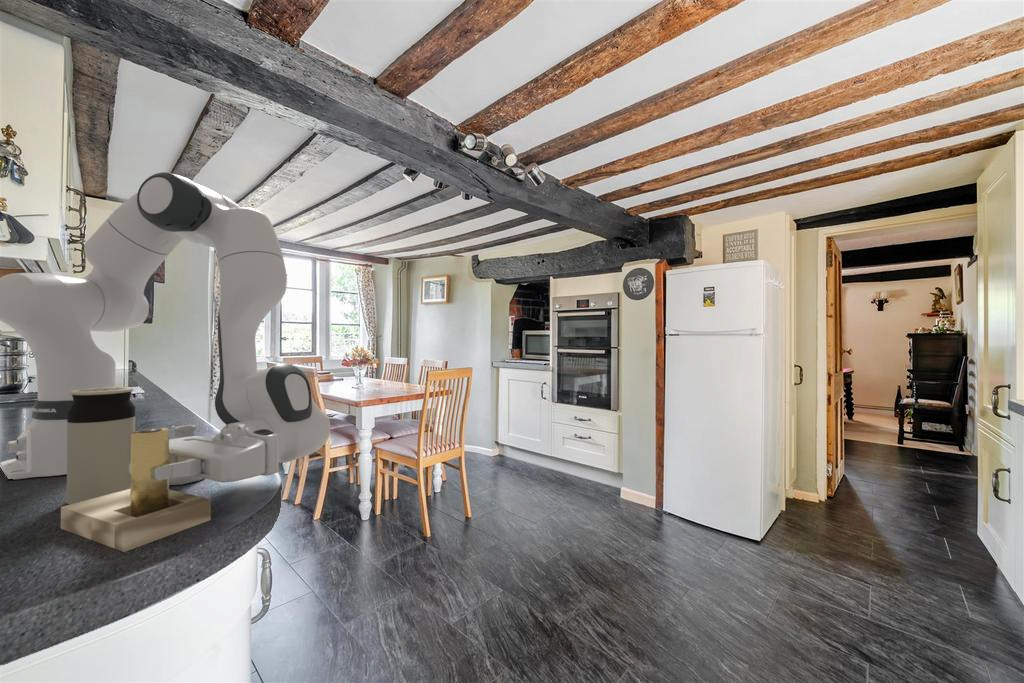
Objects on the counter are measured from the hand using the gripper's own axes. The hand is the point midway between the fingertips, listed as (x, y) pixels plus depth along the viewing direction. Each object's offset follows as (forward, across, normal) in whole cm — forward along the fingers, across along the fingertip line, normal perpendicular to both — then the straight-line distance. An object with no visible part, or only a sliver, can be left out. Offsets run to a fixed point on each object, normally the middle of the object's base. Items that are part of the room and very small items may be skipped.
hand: (142, 471), depth 56 cm
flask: (-15, -18, +8) cm, 25 cm away
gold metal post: (-1, 0, +7) cm, 7 cm away
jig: (-1, -3, +8) cm, 9 cm away
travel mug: (-4, -20, +8) cm, 22 cm away
